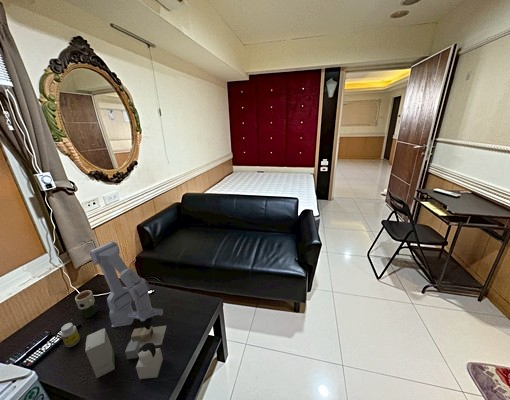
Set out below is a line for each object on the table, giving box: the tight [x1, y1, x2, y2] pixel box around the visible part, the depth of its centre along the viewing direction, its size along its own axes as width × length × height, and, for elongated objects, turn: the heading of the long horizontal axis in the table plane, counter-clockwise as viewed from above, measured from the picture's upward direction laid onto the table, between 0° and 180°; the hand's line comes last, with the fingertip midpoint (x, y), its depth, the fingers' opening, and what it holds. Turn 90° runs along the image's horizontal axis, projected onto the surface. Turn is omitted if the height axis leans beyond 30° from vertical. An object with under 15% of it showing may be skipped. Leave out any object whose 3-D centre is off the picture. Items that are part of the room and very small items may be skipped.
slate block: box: [124, 342, 140, 360], centre depth 93 cm, size 4×4×5 cm
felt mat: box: [129, 325, 167, 348], centre depth 101 cm, size 15×10×1 cm, turn 99°
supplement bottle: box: [60, 322, 81, 348], centre depth 98 cm, size 5×5×10 cm
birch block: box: [130, 325, 153, 342], centre depth 100 cm, size 4×4×8 cm
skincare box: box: [85, 327, 116, 379], centre depth 87 cm, size 8×7×16 cm
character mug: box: [74, 289, 98, 319], centre depth 112 cm, size 11×7×13 cm, turn 70°
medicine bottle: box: [135, 343, 164, 380], centre depth 86 cm, size 7×7×12 cm
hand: (149, 327), depth 99 cm, fingers closed
